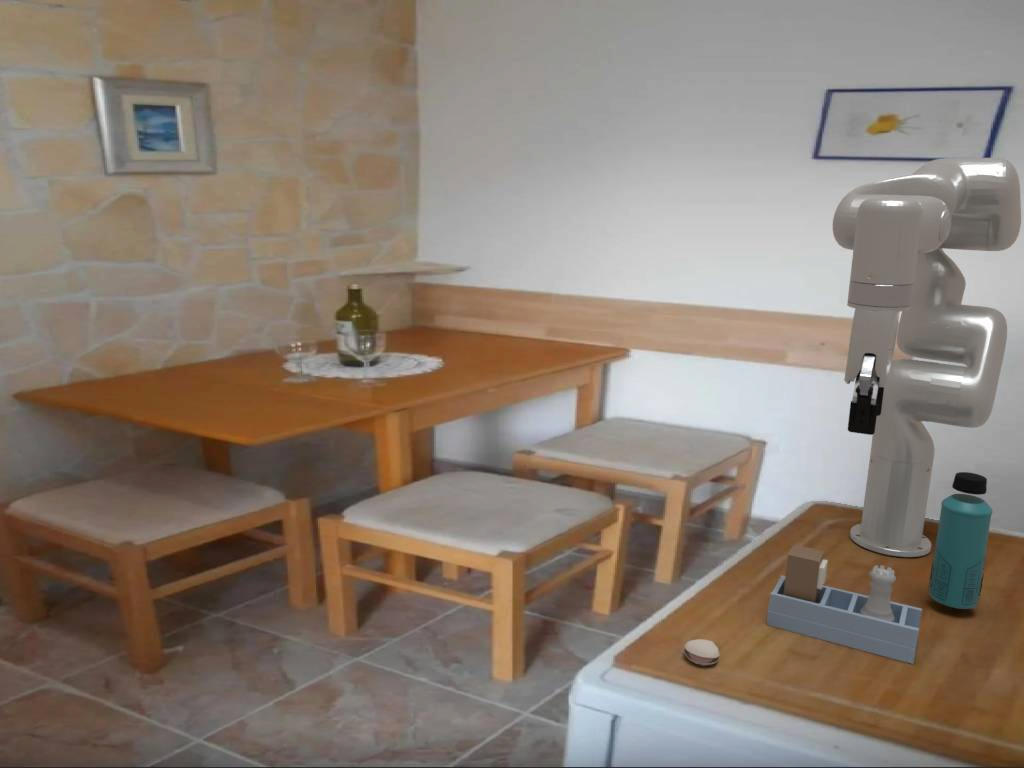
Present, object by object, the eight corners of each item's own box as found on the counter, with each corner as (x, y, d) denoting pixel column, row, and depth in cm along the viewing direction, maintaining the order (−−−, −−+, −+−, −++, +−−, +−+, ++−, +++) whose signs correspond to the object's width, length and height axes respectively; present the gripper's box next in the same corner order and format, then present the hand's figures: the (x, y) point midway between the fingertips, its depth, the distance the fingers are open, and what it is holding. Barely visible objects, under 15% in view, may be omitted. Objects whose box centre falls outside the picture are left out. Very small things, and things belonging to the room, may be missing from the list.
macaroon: (678, 661, 101) (680, 643, 101) (694, 644, 105) (696, 627, 105) (711, 673, 99) (713, 654, 98) (726, 656, 103) (728, 638, 102)
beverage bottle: (984, 622, 113) (1007, 484, 109) (932, 616, 115) (953, 480, 110) (968, 600, 120) (989, 469, 115) (919, 595, 121) (939, 465, 117)
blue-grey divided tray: (777, 604, 117) (785, 538, 115) (917, 639, 108) (928, 569, 106) (766, 624, 111) (773, 555, 109) (913, 664, 102) (924, 590, 100)
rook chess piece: (902, 632, 106) (910, 575, 104) (873, 636, 105) (881, 578, 103) (877, 615, 110) (885, 560, 108) (849, 619, 109) (857, 563, 107)
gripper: (855, 286, 115) (842, 404, 119) (840, 302, 100) (826, 436, 104) (914, 290, 111) (899, 411, 116) (908, 307, 97) (890, 445, 101)
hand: (864, 423), depth 110 cm, fingers open, 9 cm apart
